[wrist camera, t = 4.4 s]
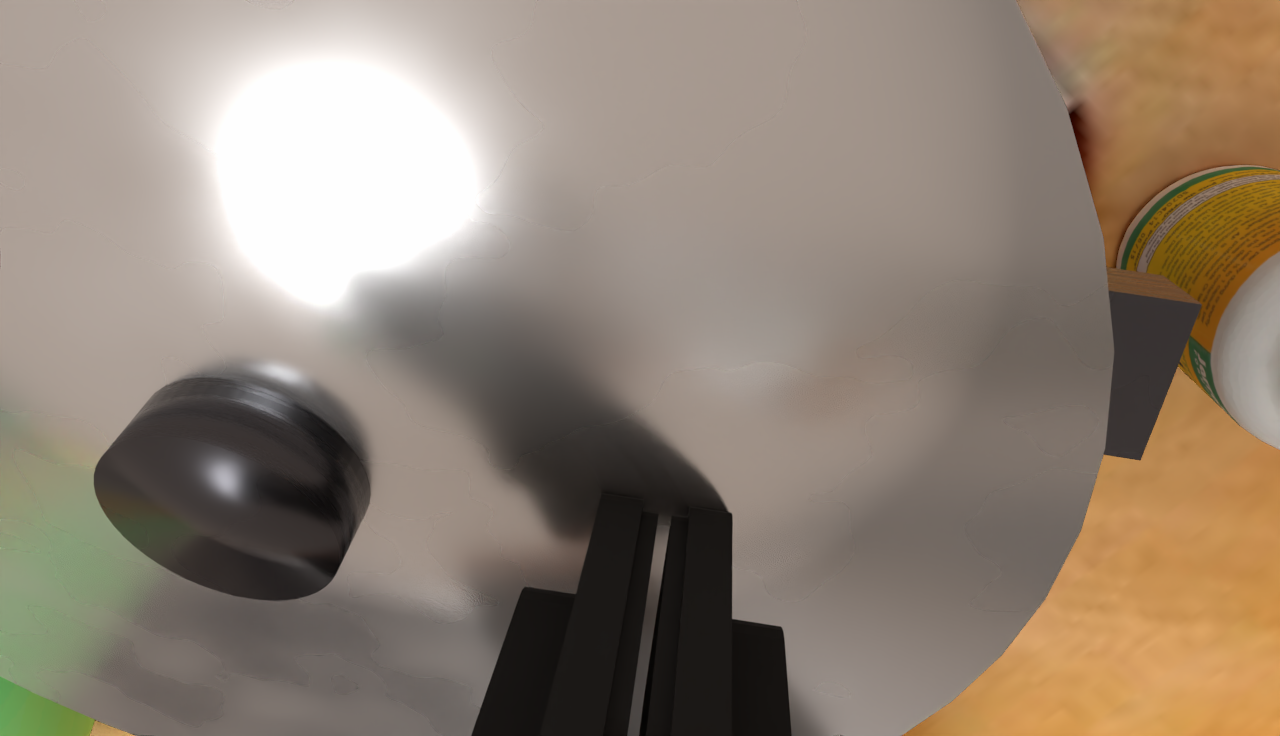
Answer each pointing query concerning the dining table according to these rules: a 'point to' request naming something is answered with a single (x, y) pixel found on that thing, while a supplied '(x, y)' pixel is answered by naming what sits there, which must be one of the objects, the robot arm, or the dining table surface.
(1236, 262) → the supplement bottle
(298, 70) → the lid
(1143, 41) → the dining table surface
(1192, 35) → the dining table surface
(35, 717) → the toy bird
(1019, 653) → the dining table surface
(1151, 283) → the pot
